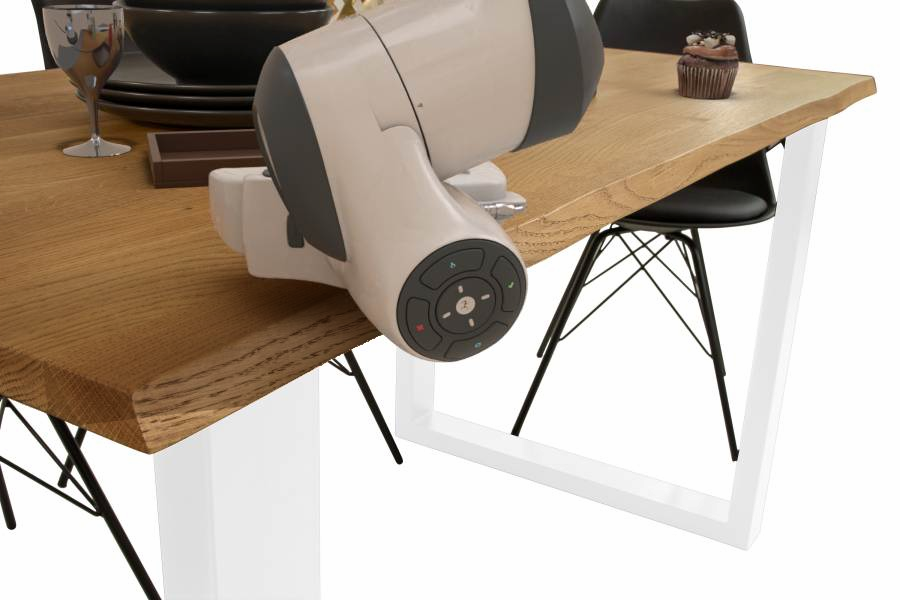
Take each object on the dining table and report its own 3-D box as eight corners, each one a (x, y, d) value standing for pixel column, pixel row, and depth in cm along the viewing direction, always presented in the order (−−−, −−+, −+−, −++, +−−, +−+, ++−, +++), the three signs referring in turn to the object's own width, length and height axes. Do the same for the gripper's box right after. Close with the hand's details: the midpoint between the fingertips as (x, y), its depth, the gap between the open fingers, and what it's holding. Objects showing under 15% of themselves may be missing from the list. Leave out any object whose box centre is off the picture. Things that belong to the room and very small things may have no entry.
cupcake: (747, 96, 159) (755, 31, 156) (713, 102, 153) (720, 34, 149) (695, 89, 166) (702, 26, 162) (661, 94, 159) (667, 29, 156)
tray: (155, 189, 94) (152, 161, 93) (148, 157, 107) (146, 132, 106) (359, 179, 100) (359, 153, 99) (329, 149, 113) (329, 126, 112)
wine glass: (118, 140, 115) (106, 3, 110) (146, 152, 109) (134, 9, 104) (48, 147, 110) (31, 5, 105) (73, 160, 105) (57, 11, 99)
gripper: (540, 163, 65) (470, 125, 78) (219, 178, 59) (199, 134, 72) (534, 256, 68) (467, 205, 80) (224, 279, 61) (204, 220, 74)
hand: (338, 171), depth 76 cm, fingers open, 8 cm apart
